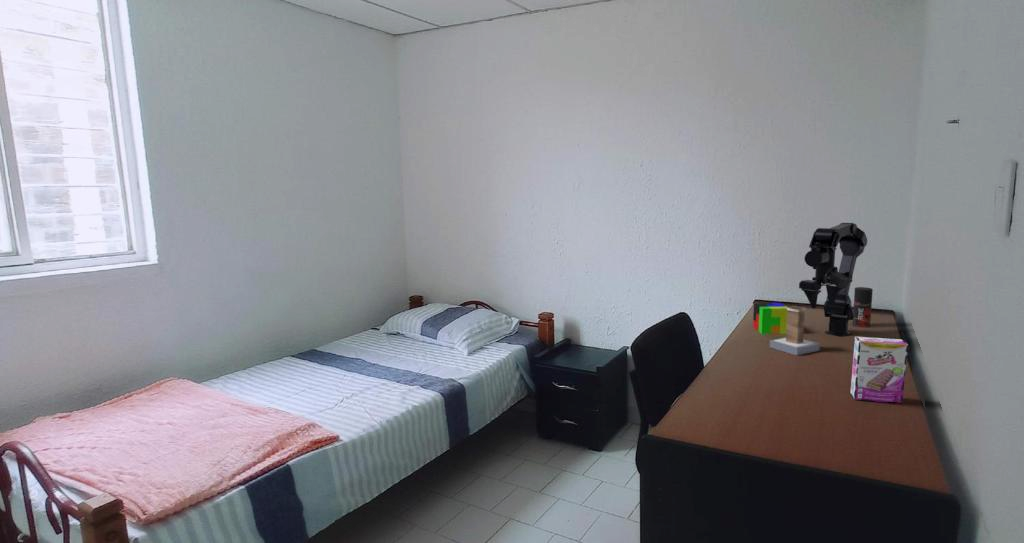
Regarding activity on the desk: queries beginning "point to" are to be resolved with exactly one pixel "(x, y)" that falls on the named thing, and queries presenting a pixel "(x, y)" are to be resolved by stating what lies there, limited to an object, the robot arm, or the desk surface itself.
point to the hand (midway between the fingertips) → (822, 306)
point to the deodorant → (862, 307)
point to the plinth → (794, 346)
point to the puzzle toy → (770, 318)
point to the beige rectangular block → (795, 324)
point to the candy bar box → (878, 369)
